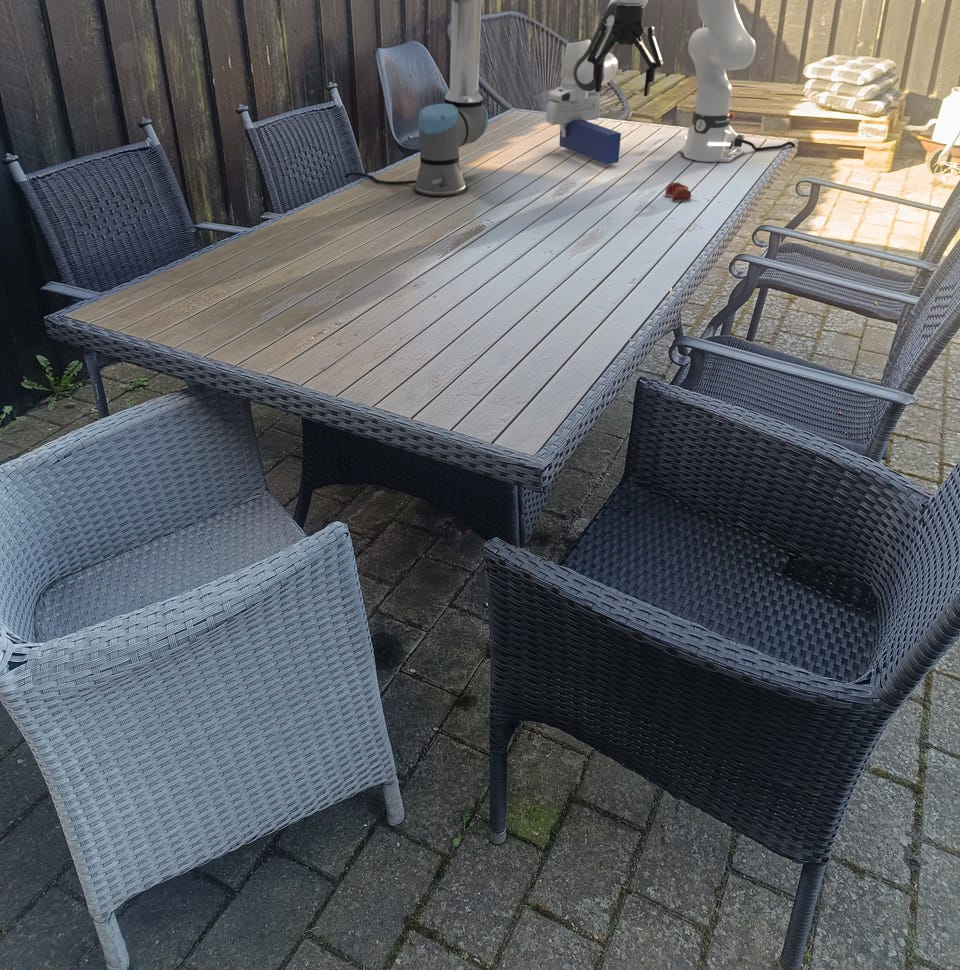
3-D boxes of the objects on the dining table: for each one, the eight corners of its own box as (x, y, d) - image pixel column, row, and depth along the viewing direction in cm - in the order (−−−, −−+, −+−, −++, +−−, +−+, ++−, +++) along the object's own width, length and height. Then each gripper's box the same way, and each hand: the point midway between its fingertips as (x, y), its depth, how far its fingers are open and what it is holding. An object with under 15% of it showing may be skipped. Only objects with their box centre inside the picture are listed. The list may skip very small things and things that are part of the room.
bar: (618, 162, 278) (621, 133, 273) (606, 164, 276) (608, 134, 271) (571, 144, 298) (572, 116, 292) (559, 145, 296) (560, 117, 290)
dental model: (681, 178, 253) (693, 186, 247) (680, 192, 255) (692, 200, 249) (664, 180, 252) (676, 188, 246) (663, 194, 254) (674, 202, 248)
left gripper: (681, 4, 216) (670, 94, 228) (588, 0, 224) (582, 87, 237) (674, 8, 210) (663, 99, 223) (579, 3, 219) (574, 91, 231)
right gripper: (594, 87, 290) (591, 130, 298) (544, 93, 282) (542, 137, 290) (605, 91, 285) (602, 134, 294) (555, 97, 277) (552, 141, 285)
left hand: (622, 93), depth 230 cm, fingers open, 13 cm apart
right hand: (572, 135), depth 292 cm, fingers closed on bar, 5 cm apart
